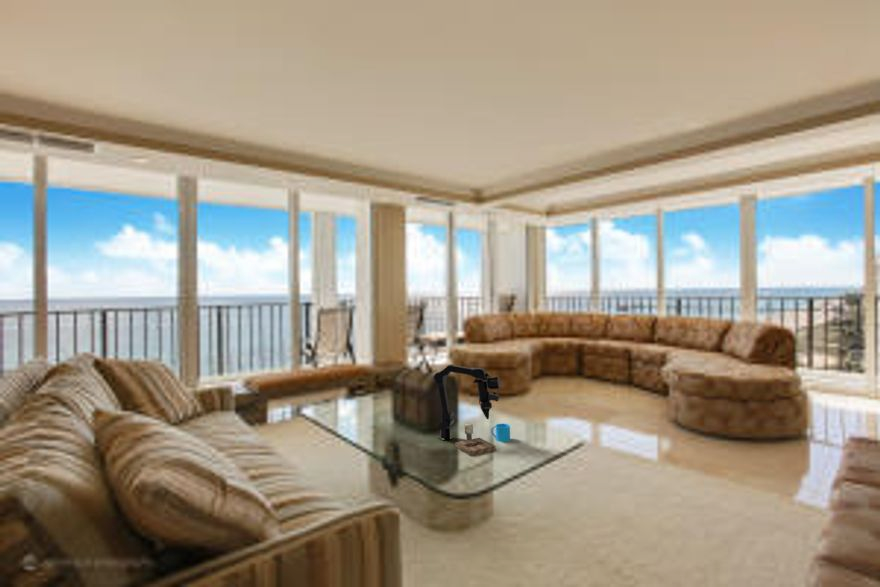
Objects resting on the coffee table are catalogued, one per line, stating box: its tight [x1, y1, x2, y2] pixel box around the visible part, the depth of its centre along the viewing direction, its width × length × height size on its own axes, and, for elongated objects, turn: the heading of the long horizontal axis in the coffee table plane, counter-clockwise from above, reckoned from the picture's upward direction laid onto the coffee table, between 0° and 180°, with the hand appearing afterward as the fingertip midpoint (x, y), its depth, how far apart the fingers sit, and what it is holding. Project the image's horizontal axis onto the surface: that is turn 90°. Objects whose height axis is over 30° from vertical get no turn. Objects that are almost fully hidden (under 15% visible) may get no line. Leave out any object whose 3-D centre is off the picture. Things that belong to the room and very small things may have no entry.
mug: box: [490, 423, 511, 443], centre depth 243 cm, size 12×8×8 cm
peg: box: [464, 423, 474, 440], centre depth 242 cm, size 5×5×9 cm
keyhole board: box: [454, 437, 497, 457], centre depth 228 cm, size 16×16×2 cm
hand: (487, 417), depth 237 cm, fingers open, 9 cm apart
